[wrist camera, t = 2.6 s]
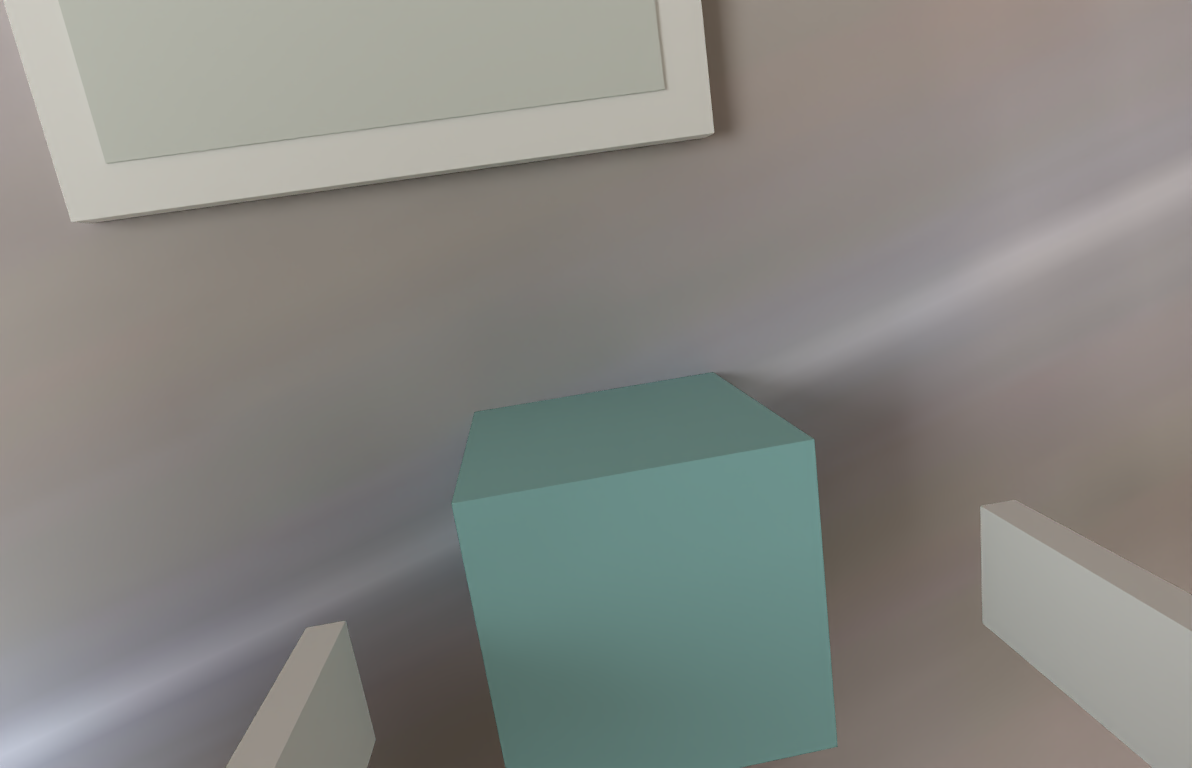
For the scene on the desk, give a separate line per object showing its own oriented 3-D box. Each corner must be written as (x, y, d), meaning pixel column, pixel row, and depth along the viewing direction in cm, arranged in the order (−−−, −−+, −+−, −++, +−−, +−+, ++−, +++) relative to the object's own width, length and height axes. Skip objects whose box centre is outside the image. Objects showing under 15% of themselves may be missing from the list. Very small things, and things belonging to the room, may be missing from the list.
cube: (515, 628, 21) (515, 816, 14) (474, 411, 19) (451, 503, 12) (735, 585, 21) (837, 746, 15) (712, 371, 20) (814, 439, 13)
